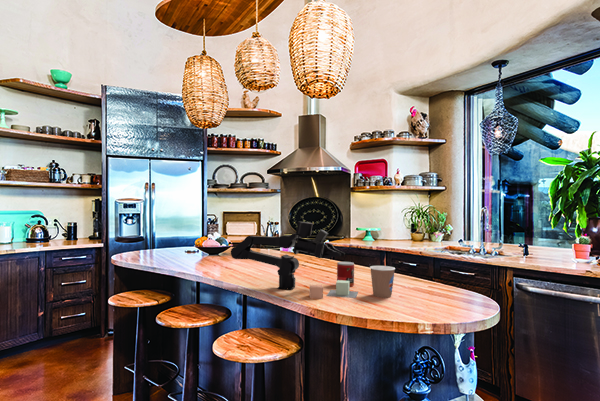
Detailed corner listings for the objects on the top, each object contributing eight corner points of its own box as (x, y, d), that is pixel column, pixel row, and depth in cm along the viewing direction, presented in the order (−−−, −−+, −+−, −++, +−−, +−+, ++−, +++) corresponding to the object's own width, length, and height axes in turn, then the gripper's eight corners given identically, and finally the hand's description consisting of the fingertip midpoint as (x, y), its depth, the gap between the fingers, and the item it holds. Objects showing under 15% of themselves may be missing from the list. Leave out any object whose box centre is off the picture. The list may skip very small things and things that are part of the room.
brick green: (335, 294, 151) (336, 282, 151) (337, 292, 156) (337, 280, 156) (348, 295, 150) (348, 283, 150) (349, 292, 154) (349, 280, 155)
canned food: (348, 289, 165) (349, 264, 165) (333, 286, 170) (333, 262, 170) (357, 286, 171) (357, 262, 171) (342, 284, 176) (342, 261, 176)
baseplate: (326, 297, 148) (326, 295, 148) (330, 291, 160) (330, 289, 160) (356, 299, 145) (356, 298, 145) (358, 293, 157) (358, 291, 157)
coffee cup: (395, 300, 145) (396, 270, 145) (369, 299, 147) (369, 268, 147) (394, 294, 155) (394, 266, 155) (369, 293, 157) (369, 265, 157)
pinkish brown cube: (310, 300, 144) (310, 287, 144) (309, 297, 149) (309, 284, 149) (322, 300, 144) (323, 287, 144) (321, 297, 149) (321, 284, 149)
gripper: (306, 227, 154) (342, 235, 149) (317, 229, 171) (350, 236, 166) (300, 253, 153) (336, 262, 148) (312, 252, 171) (345, 260, 166)
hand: (342, 254), depth 157 cm, fingers open, 9 cm apart
